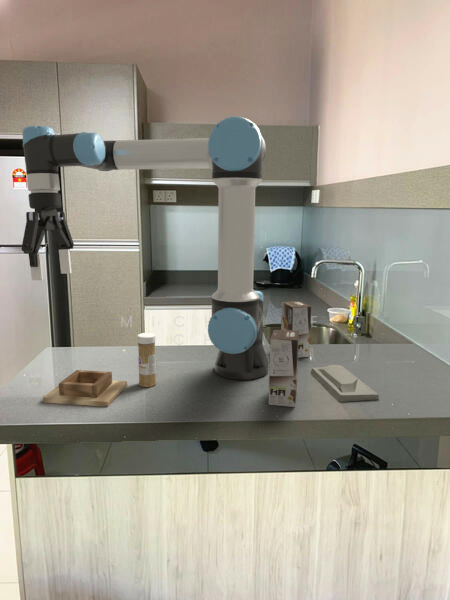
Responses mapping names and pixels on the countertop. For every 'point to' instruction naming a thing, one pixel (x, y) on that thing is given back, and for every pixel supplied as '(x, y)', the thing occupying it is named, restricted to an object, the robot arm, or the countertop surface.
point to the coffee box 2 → (283, 367)
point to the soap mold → (343, 384)
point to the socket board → (86, 389)
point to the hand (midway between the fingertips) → (52, 276)
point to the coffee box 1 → (298, 323)
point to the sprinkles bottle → (147, 359)
